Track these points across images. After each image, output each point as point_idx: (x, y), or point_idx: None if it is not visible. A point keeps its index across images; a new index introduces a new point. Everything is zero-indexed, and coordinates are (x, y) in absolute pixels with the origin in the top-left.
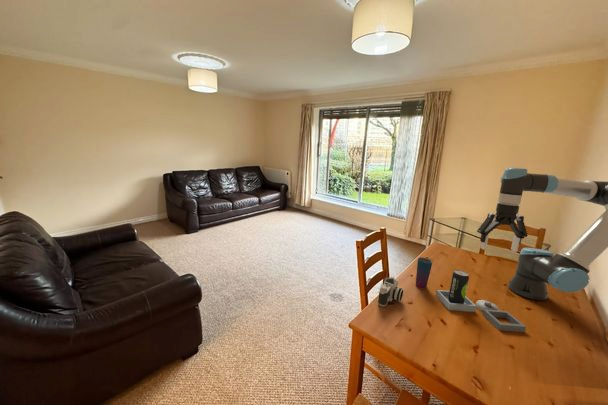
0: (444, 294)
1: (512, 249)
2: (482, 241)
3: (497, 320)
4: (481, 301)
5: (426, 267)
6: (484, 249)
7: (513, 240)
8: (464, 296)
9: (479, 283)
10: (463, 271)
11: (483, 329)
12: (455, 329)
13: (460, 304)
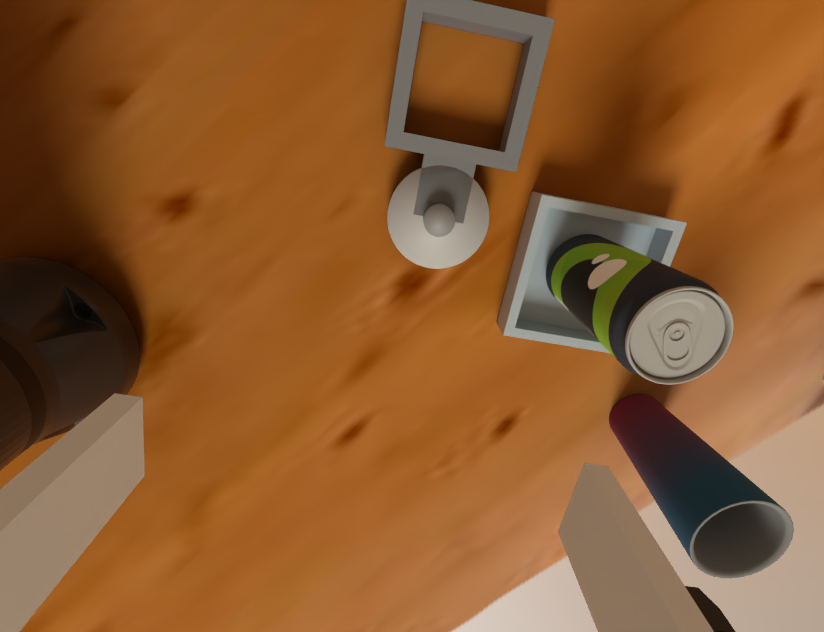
0: (590, 334)
1: (131, 463)
2: (707, 600)
3: (534, 59)
4: (443, 253)
5: (740, 477)
6: (606, 472)
7: (17, 617)
8: (594, 246)
9: (259, 441)
10: (632, 359)
11: (625, 42)
12: (781, 54)
13: (626, 214)
